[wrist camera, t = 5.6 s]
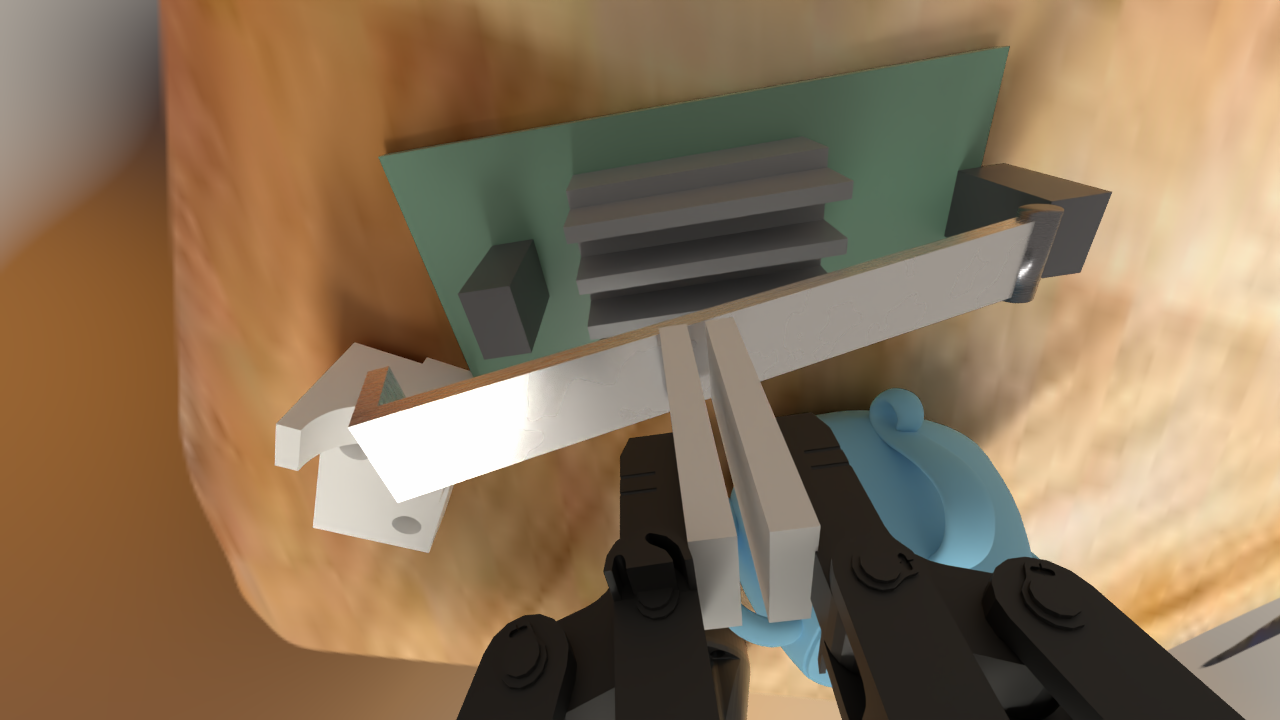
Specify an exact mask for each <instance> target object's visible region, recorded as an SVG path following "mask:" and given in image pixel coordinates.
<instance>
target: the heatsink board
mask: <svg viewBox="0 0 1280 720" xmlns="http://www.w3.org/2000/svg"><path fill="white" fill-rule="evenodd" d="M1009 48H1010V46H1002V47H992V48H986V49H980V50H975V51H969V52H963V53H958V54H952V55H946V56H940V57H935V58H929V59H923V60H918V61H912V62H906V63H901V64H895V65H889V66H884V67H878V68H872V69H866V70H861V71H855V72H849V73H844V74H838V75H832V76H827V77H821V78H815V79H809V80H804V81H798V82H792V83H787V84H781V85H775V86H770V87H764V88H758V89H753V90H747V91H741V92H735V93H730V94H724V95H718V96H713V97H707V98H701V99H696V100H690V101H684V102H679V103H673V104H667V105H661V106H656V107H650V108H644V109H639V110H633V111H627V112H622V113H616V114H610V115H605V116H599V117H593V118H587V119H582V120H576V121H570V122H565V123H559V124H553V125H548V126H542V127H536V128H530V129H525V130H519V131H513V132H508V133H502V134H496V135H491V136H485V137H479V138H474V139H468V140H462V141H456V142H451V143H445V144H439V145H434V146H428V147H422V148H417V149H411V150H405V151H400V152H394V153H388V154H385V155H382V156H379V160H380V162H381V164H382V167H383V169H384V171H385V174H386V176H387V178H388V181H389V183H390V185H391V188H392V190H393V192H394V195H395V197H396V199H397V202H398V204H399V206H400V209H401V211H402V213H403V215H404V218H405V220H406V222H407V225H408V227H409V229H410V232H411V234H412V236H413V239H414V241H415V243H416V246H417V248H418V250H419V253H420V255H421V257H422V260H423V262H424V264H425V267H426V269H427V271H428V274H429V276H430V278H431V281H432V283H433V285H434V287H435V290H436V292H437V294H438V297H439V299H440V301H441V304H442V306H443V308H444V311H445V313H446V315H447V318H448V320H449V322H450V325H451V327H452V329H453V332H454V334H455V336H456V339H457V341H458V343H459V346H460V348H461V350H462V352H463V355H464V357H465V359H466V362H467V364H468V366H469V369H470V371H471V373H472V376H473V378H474V377H477V376H481V375H484V374H488V373H491V372H494V371H498V370H501V369H505V368H508V367H511V366H515V365H518V364H521V363H525V362H528V361H532V360H535V359H538V358H542V357H545V356H549V355H552V354H555V353H559V352H562V351H565V350H569V349H572V348H576V347H579V346H582V345H586V344H589V343H593V342H596V341H599V340H603V339H606V338H609V337H613V336H616V335H620V334H623V333H626V332H630V331H633V330H637V329H640V328H643V327H647V326H650V325H653V324H657V323H660V322H664V321H667V320H670V319H674V318H677V317H681V316H684V315H687V314H691V313H694V312H697V311H701V310H704V309H708V308H711V307H714V306H718V305H721V304H725V303H728V302H731V301H735V300H738V299H741V298H745V297H748V296H752V295H755V294H758V293H762V292H765V291H769V290H772V289H775V288H779V287H782V286H785V285H789V284H792V283H796V282H799V281H802V280H806V279H809V278H813V277H816V276H819V275H823V274H826V273H829V272H833V271H836V270H840V269H843V268H846V267H850V266H853V265H857V264H860V263H863V262H867V261H870V260H873V259H877V258H880V257H884V256H887V255H890V254H894V253H897V252H901V251H904V250H907V249H911V248H914V247H917V246H921V245H924V244H928V243H931V242H934V241H938V240H941V239H945V238H948V237H951V236H955V235H958V234H961V233H965V232H968V231H972V230H975V229H978V228H982V227H985V226H989V225H992V224H995V223H999V222H1002V221H1005V220H1009V219H1012V218H1016V214H1017V211H1018V208H1019V207H1021V206H1023V205H1028V204H1050V205H1056V206H1060V207H1062V208H1063V209H1064V212H1063V215H1062V218H1061V221H1060V224H1059V227H1058V230H1057V233H1056V235H1055V238H1054V241H1053V244H1052V247H1051V250H1050V253H1049V256H1048V258H1047V261H1046V264H1045V267H1044V270H1043V273H1042V276H1041V278H1047V277H1053V276H1060V275H1067V274H1074V273H1080V272H1081V270H1082V267H1083V264H1084V262H1085V259H1086V257H1087V254H1088V252H1089V249H1090V247H1091V244H1092V242H1093V239H1094V237H1095V234H1096V232H1097V229H1098V227H1099V224H1100V222H1101V219H1102V217H1103V214H1104V212H1105V209H1106V206H1107V204H1108V201H1109V199H1110V196H1111V194H1112V192H1110V191H1106V190H1103V189H1099V188H1095V187H1092V186H1088V185H1084V184H1080V183H1077V182H1073V181H1069V180H1065V179H1062V178H1058V177H1054V176H1050V175H1047V174H1043V173H1039V172H1035V171H1032V170H1028V169H1024V168H1020V167H1017V166H1013V165H1009V164H1006V163H1002V164H996V165H990V166H983V167H981V165H982V161H983V157H984V152H985V148H986V144H987V140H988V136H989V131H990V127H991V123H992V119H993V115H994V110H995V106H996V102H997V98H998V94H999V89H1000V85H1001V81H1002V77H1003V73H1004V69H1005V64H1006V60H1007V56H1008V52H1009Z"/></svg>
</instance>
